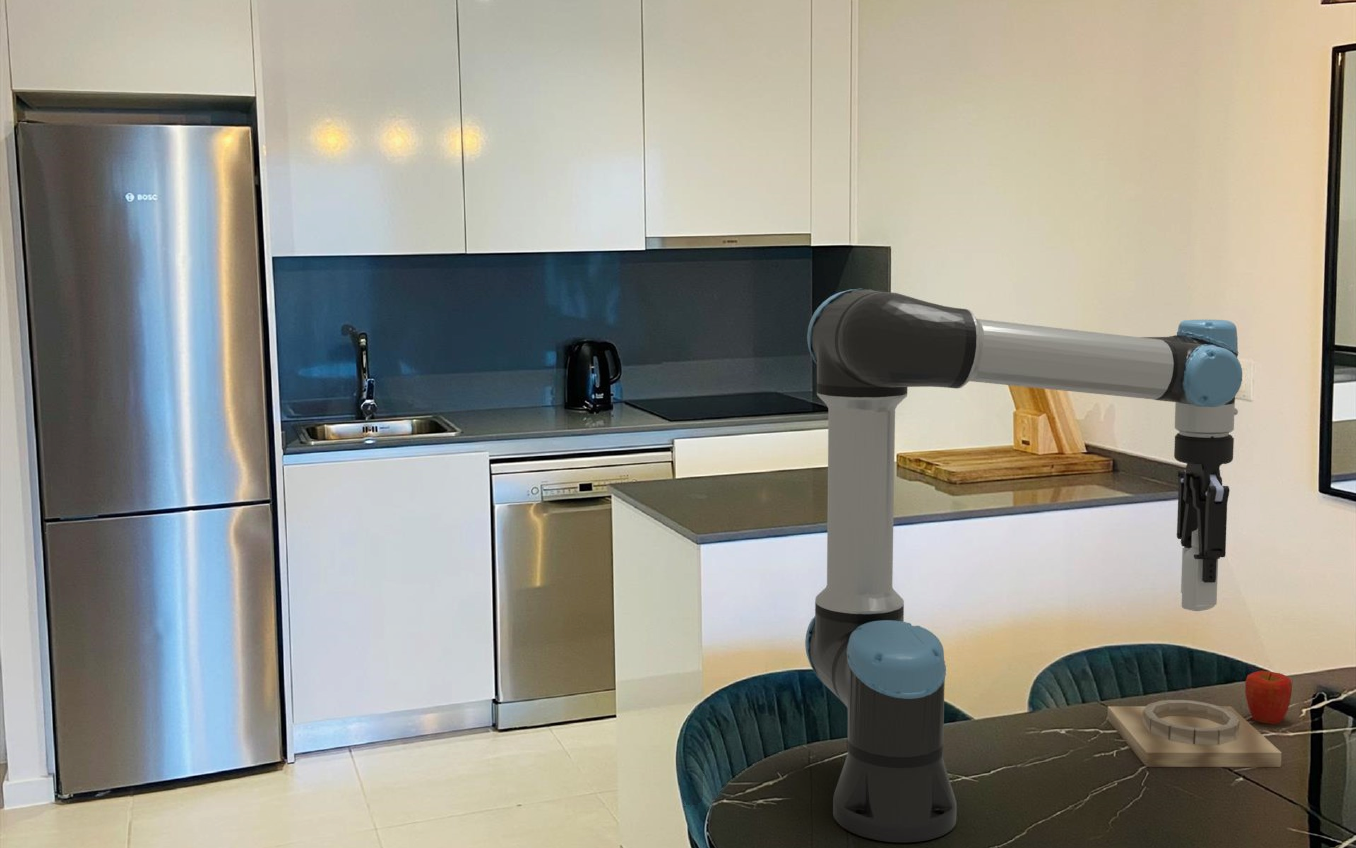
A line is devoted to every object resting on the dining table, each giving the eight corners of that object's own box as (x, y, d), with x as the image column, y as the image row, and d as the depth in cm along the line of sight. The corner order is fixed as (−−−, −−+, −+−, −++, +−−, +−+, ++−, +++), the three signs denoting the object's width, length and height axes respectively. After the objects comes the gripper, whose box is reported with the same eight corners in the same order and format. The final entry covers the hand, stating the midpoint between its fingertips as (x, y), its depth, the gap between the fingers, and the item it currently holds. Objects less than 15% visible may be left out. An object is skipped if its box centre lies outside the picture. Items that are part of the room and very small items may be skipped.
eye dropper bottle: (1226, 610, 182) (1229, 524, 180) (1188, 612, 181) (1191, 526, 179) (1208, 601, 186) (1211, 518, 184) (1171, 604, 185) (1174, 520, 184)
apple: (1255, 730, 191) (1257, 680, 190) (1236, 715, 197) (1238, 667, 196) (1298, 729, 191) (1300, 679, 190) (1277, 714, 198) (1280, 666, 197)
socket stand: (1146, 766, 178) (1147, 738, 178) (1107, 719, 196) (1108, 693, 196) (1280, 767, 178) (1282, 738, 177) (1229, 719, 196) (1231, 693, 195)
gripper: (1257, 442, 171) (1250, 616, 174) (1209, 423, 189) (1203, 582, 192) (1198, 443, 171) (1192, 617, 175) (1155, 424, 189) (1151, 582, 192)
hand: (1198, 598), depth 183 cm, fingers closed on eye dropper bottle, 5 cm apart
